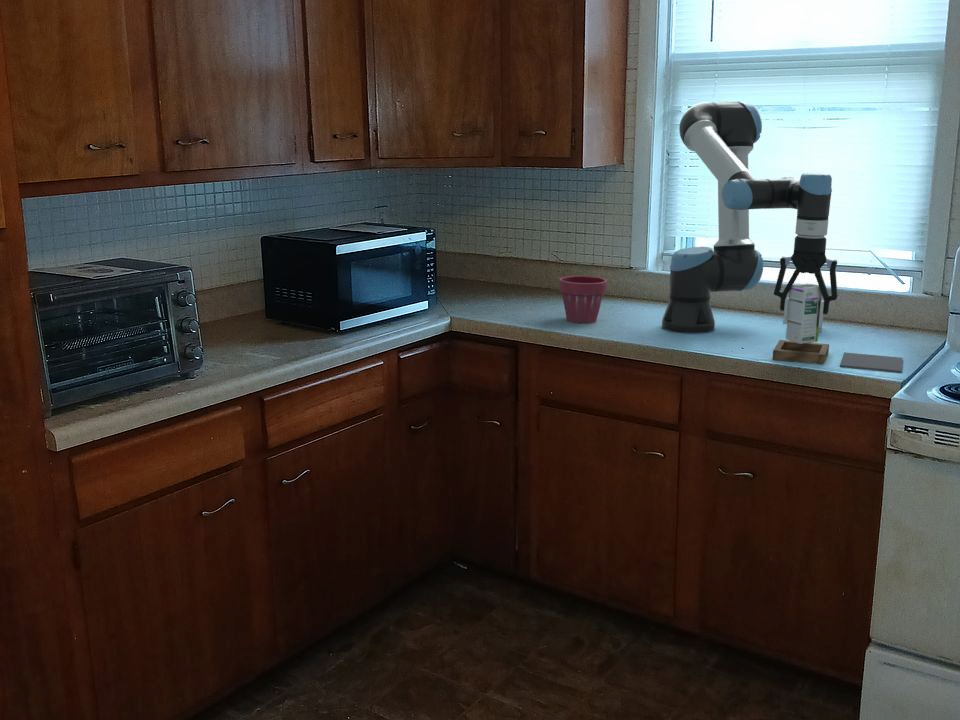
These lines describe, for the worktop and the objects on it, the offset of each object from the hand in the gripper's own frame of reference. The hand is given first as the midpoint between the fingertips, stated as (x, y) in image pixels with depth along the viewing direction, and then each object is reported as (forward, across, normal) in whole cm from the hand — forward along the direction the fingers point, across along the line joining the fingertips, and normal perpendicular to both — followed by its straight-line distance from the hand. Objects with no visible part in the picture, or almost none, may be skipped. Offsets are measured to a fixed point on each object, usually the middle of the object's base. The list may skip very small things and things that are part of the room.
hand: (802, 324), depth 242 cm
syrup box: (+4, 0, 0) cm, 4 cm away
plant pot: (+10, -66, +20) cm, 69 cm away
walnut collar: (+8, 0, 0) cm, 8 cm away
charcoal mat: (+8, +17, 0) cm, 19 cm away
